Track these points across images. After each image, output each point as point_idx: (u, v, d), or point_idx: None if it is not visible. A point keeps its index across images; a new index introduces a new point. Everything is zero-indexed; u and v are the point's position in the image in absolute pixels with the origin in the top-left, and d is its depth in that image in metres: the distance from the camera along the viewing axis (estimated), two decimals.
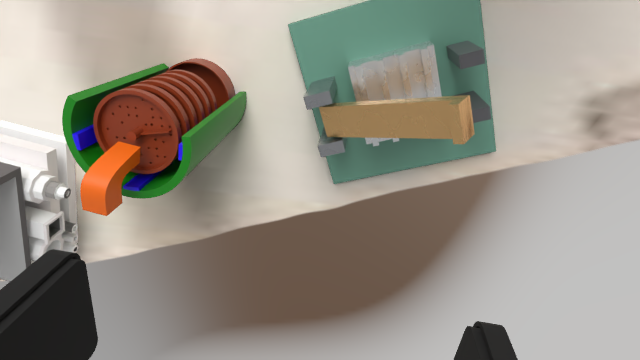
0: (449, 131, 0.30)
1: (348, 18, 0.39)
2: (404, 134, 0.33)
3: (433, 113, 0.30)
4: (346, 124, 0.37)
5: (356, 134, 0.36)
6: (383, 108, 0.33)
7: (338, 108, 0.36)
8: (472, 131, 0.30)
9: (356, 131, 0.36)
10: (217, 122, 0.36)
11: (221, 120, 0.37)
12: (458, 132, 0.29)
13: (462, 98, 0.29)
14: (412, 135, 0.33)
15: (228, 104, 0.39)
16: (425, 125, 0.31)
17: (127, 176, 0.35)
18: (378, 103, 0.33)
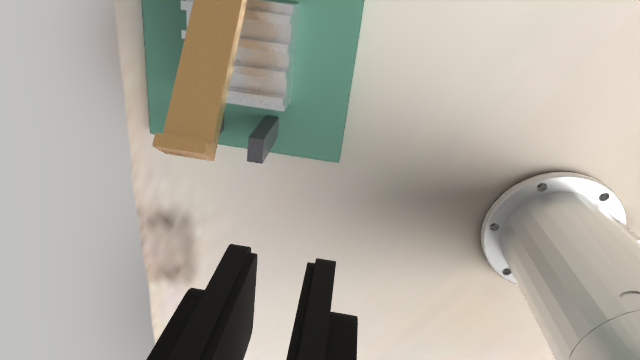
0: (174, 128, 0.24)
1: (348, 22, 0.32)
2: (183, 65, 0.25)
3: (201, 114, 0.24)
4: None
5: None
6: (225, 48, 0.25)
7: None
8: (168, 153, 0.24)
9: None
10: None
11: None
12: (169, 143, 0.23)
13: (211, 154, 0.24)
14: (180, 76, 0.24)
15: None
16: (188, 99, 0.24)
17: None
18: (234, 42, 0.25)
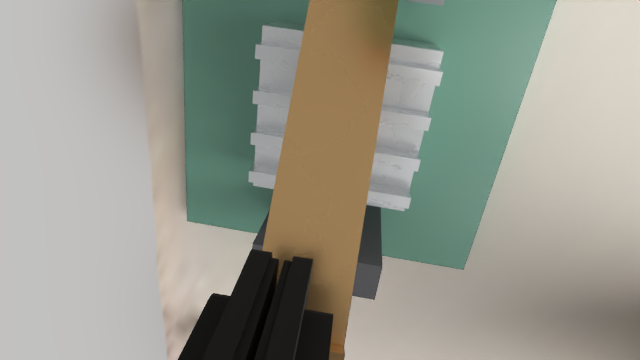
0: None
1: (509, 73, 0.20)
2: (284, 184, 0.13)
3: (322, 284, 0.13)
4: (342, 19, 0.14)
5: (309, 38, 0.14)
6: (362, 151, 0.13)
7: (390, 14, 0.14)
8: None
9: (318, 43, 0.14)
10: None
11: None
12: None
13: None
14: (278, 206, 0.13)
15: None
16: (296, 252, 0.13)
17: None
18: (376, 137, 0.13)
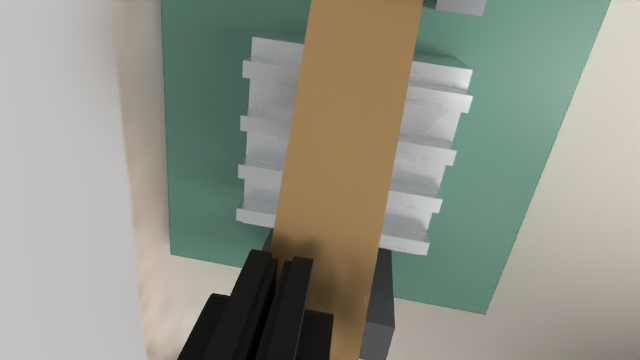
0: None
1: (547, 94, 0.17)
2: (282, 247, 0.12)
3: None
4: (348, 44, 0.11)
5: (309, 70, 0.11)
6: (371, 210, 0.11)
7: (408, 38, 0.11)
8: None
9: (319, 76, 0.11)
10: None
11: None
12: None
13: None
14: None
15: None
16: None
17: None
18: (387, 192, 0.11)
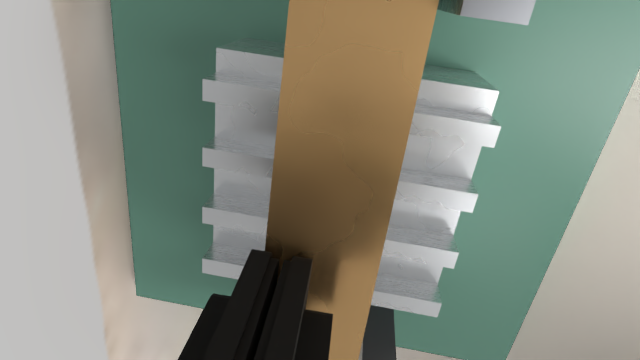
0: None
1: (584, 116, 0.14)
2: None
3: None
4: (337, 75, 0.09)
5: (290, 107, 0.09)
6: (365, 258, 0.10)
7: (413, 66, 0.09)
8: None
9: (303, 114, 0.09)
10: None
11: None
12: None
13: None
14: None
15: None
16: None
17: None
18: (385, 236, 0.10)
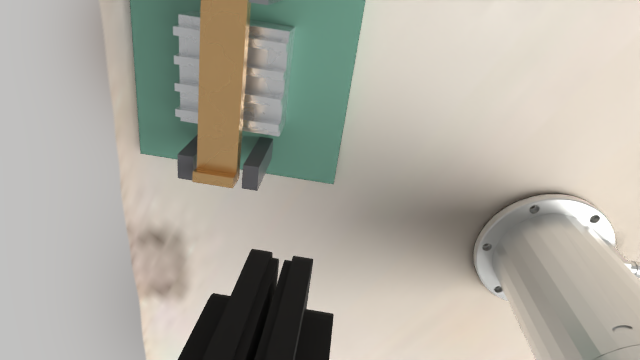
0: (205, 160, 0.30)
1: (344, 46, 0.32)
2: (202, 108, 0.29)
3: (224, 150, 0.30)
4: (218, 22, 0.26)
5: (203, 33, 0.27)
6: (236, 92, 0.28)
7: (243, 19, 0.26)
8: None
9: (208, 36, 0.27)
10: None
11: None
12: (204, 180, 0.30)
13: (237, 178, 0.31)
14: (201, 118, 0.29)
15: None
16: (212, 137, 0.29)
17: None
18: (242, 84, 0.28)
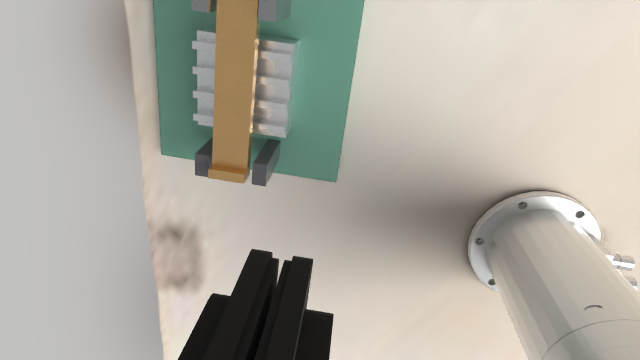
0: (219, 159, 0.34)
1: (343, 57, 0.35)
2: (217, 112, 0.32)
3: (236, 150, 0.33)
4: (231, 37, 0.30)
5: (218, 47, 0.30)
6: (246, 98, 0.32)
7: (253, 34, 0.30)
8: None
9: (222, 49, 0.30)
10: None
11: None
12: (218, 176, 0.33)
13: (247, 175, 0.35)
14: (216, 121, 0.33)
15: None
16: (225, 138, 0.33)
17: None
18: (252, 91, 0.32)
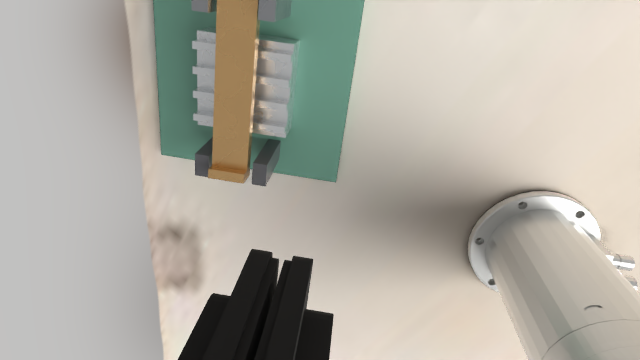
0: (219, 159, 0.34)
1: (343, 57, 0.35)
2: (217, 112, 0.32)
3: (236, 150, 0.33)
4: (231, 37, 0.30)
5: (218, 47, 0.30)
6: (246, 98, 0.32)
7: (253, 34, 0.30)
8: None
9: (222, 49, 0.30)
10: None
11: None
12: (218, 176, 0.33)
13: (247, 175, 0.35)
14: (216, 121, 0.33)
15: None
16: (225, 138, 0.33)
17: None
18: (252, 91, 0.32)
